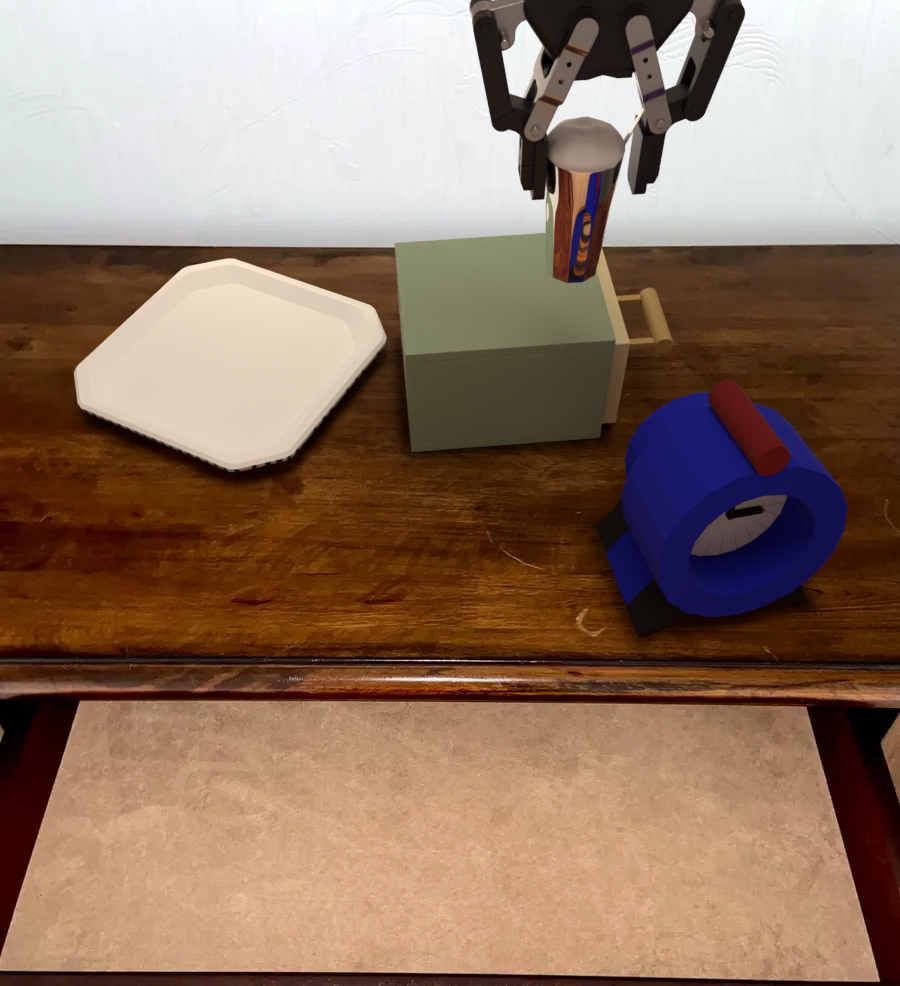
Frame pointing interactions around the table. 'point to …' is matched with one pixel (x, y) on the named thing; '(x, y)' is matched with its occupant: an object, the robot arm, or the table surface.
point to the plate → (231, 364)
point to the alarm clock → (718, 511)
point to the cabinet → (499, 344)
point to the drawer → (623, 344)
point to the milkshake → (580, 193)
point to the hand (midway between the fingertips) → (586, 188)
